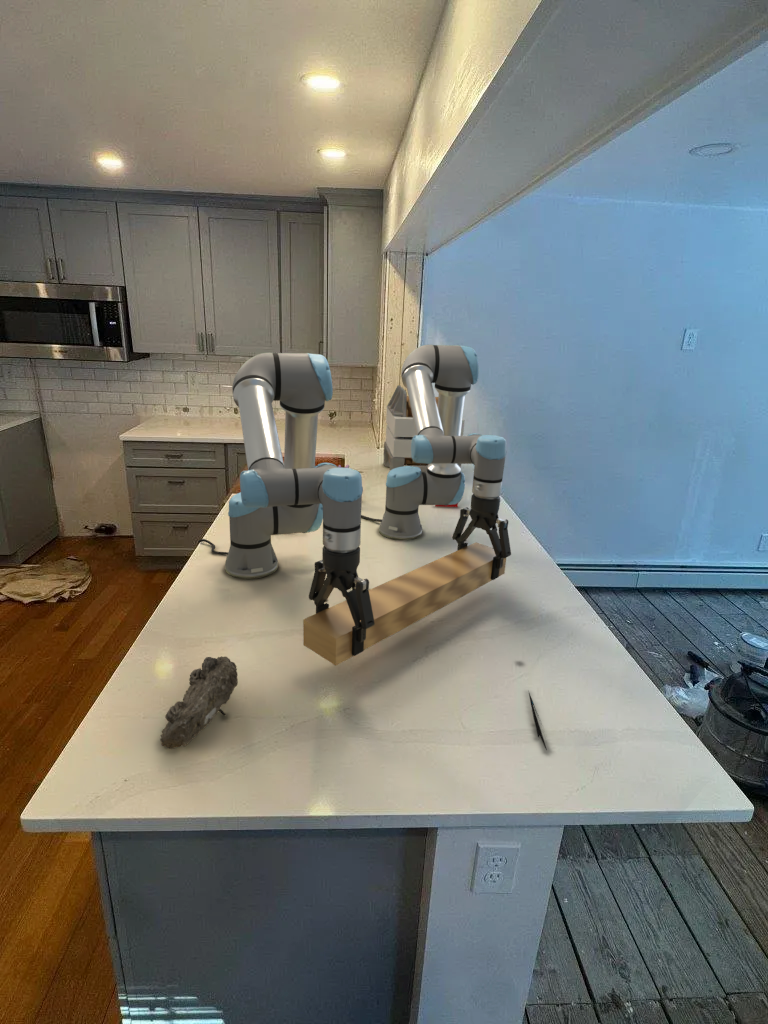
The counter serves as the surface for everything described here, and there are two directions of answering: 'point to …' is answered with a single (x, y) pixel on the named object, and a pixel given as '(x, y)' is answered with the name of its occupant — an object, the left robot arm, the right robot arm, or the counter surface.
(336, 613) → the thick board
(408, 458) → the transformer
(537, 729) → the feather
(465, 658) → the counter surface
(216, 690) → the fossil
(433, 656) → the counter surface
